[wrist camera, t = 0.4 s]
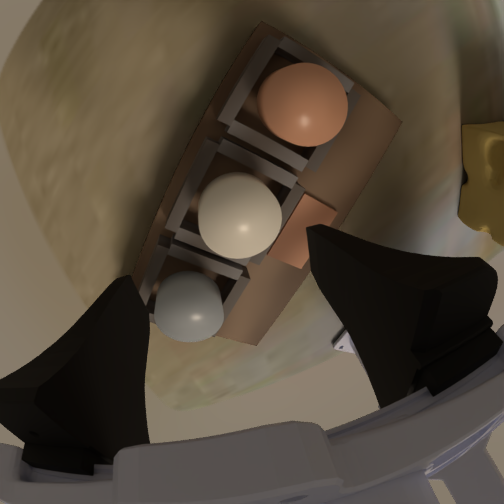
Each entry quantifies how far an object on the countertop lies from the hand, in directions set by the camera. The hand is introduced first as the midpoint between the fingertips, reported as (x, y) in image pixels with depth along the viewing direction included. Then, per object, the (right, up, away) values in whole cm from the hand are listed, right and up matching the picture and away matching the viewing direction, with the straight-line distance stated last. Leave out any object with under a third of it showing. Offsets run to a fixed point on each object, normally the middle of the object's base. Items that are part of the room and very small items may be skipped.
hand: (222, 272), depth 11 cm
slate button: (-3, -2, +8) cm, 9 cm away
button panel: (+1, +4, +9) cm, 10 cm away
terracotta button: (+4, +9, +3) cm, 10 cm away
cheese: (+26, +10, +11) cm, 30 cm away
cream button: (0, +3, +6) cm, 7 cm away
